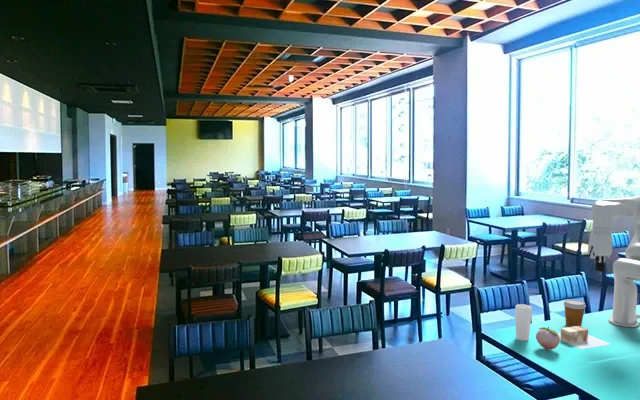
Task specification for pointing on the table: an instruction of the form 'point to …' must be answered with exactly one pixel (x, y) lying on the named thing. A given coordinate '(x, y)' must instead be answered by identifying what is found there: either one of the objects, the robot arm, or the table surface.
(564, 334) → the maple block
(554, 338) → the decorative fruit
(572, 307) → the disposable coffee cup
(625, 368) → the table surface
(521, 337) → the drinking glass
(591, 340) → the white square plate
